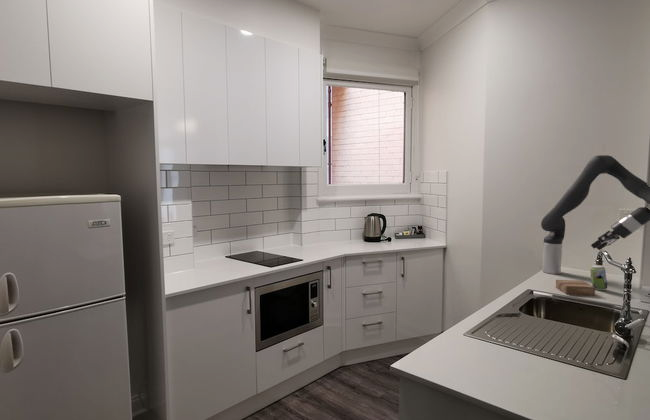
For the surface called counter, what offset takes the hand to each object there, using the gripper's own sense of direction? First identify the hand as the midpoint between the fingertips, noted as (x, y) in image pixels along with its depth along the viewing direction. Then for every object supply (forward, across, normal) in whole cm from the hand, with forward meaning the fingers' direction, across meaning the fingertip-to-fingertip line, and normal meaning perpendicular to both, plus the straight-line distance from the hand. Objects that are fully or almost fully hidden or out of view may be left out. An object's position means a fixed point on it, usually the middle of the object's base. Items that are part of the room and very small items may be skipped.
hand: (595, 247), depth 187 cm
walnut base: (+19, +7, +12) cm, 24 cm away
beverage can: (+13, -6, +15) cm, 21 cm away
